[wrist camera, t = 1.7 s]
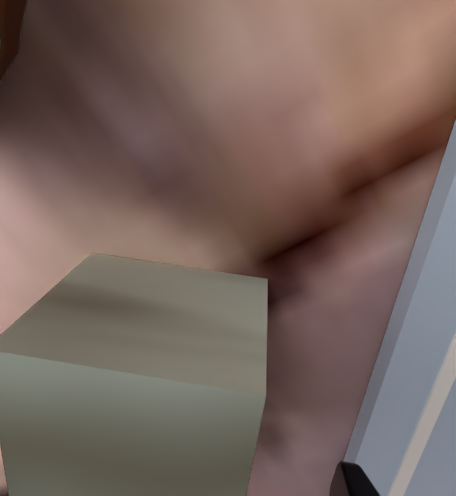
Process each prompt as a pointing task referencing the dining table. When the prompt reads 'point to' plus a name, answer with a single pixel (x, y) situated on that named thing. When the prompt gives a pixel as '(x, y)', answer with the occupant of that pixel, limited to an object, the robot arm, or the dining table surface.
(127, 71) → the dining table surface
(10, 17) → the food container
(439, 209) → the blueprint board
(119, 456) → the sage block
